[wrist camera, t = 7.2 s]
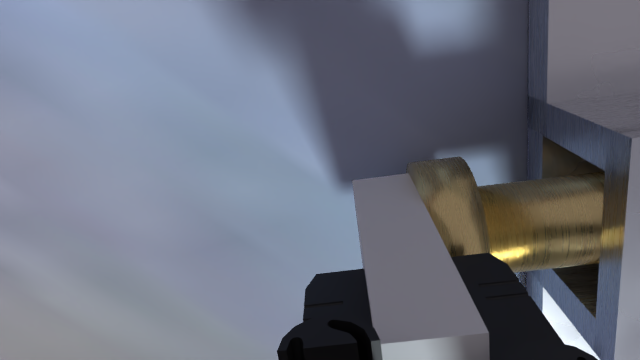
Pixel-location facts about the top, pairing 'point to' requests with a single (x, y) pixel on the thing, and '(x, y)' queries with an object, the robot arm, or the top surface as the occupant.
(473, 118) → the top surface
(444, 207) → the pin
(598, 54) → the hinge
